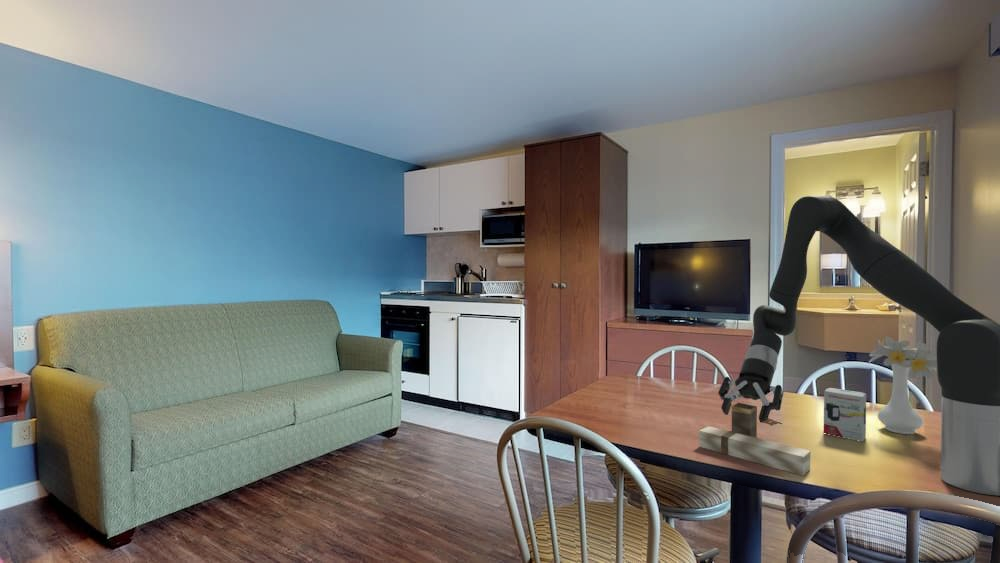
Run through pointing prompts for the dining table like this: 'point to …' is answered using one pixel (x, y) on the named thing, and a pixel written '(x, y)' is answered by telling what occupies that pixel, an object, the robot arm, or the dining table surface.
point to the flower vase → (903, 382)
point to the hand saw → (771, 422)
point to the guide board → (756, 450)
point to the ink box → (845, 413)
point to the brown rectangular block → (744, 419)
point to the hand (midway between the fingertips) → (742, 416)
